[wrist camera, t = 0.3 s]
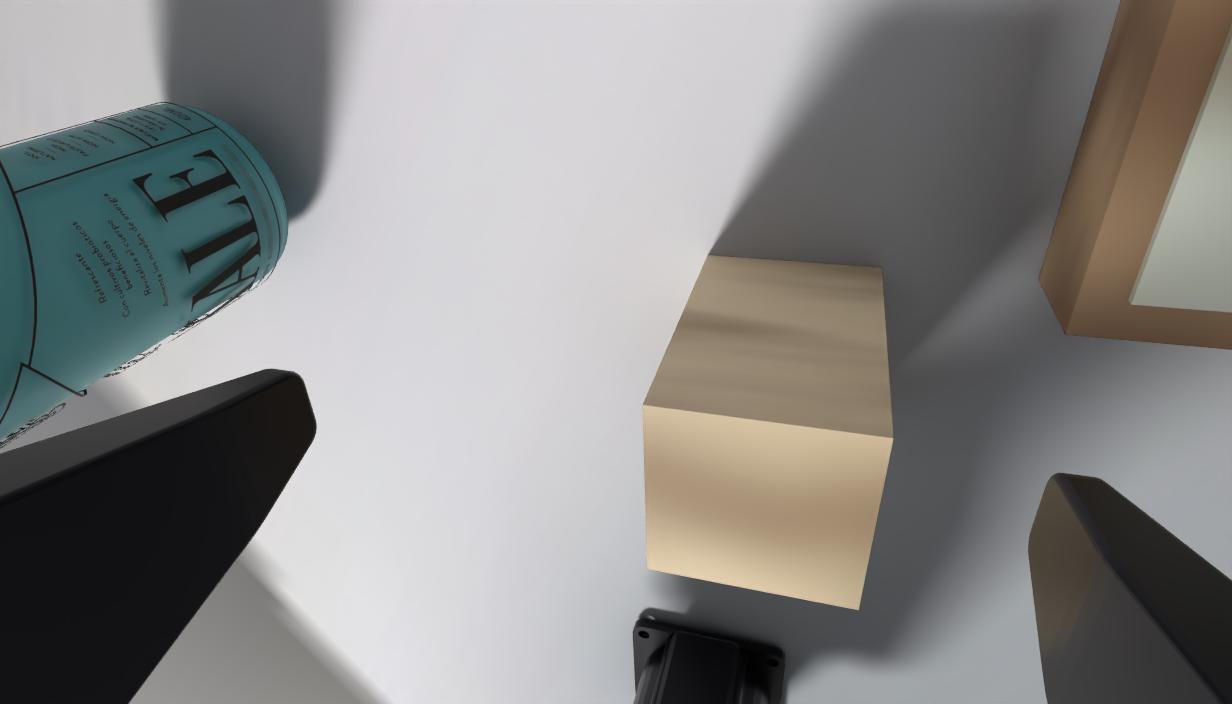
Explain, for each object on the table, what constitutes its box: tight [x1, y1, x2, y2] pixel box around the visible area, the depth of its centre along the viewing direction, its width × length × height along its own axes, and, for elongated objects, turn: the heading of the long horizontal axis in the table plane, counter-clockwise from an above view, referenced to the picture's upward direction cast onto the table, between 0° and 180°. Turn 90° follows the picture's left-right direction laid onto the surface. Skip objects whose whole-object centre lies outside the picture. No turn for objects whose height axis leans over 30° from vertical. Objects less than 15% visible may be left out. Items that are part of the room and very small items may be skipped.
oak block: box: [643, 255, 894, 610], centre depth 19 cm, size 5×5×8 cm
